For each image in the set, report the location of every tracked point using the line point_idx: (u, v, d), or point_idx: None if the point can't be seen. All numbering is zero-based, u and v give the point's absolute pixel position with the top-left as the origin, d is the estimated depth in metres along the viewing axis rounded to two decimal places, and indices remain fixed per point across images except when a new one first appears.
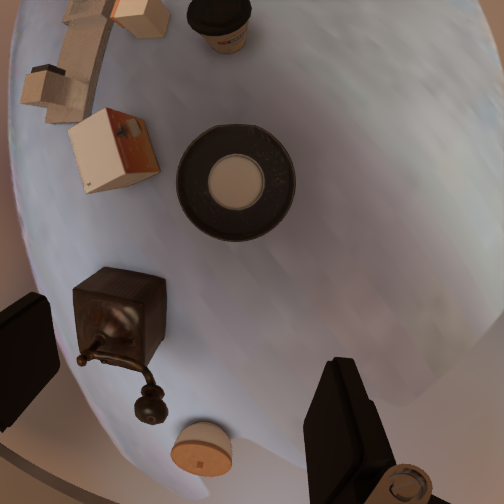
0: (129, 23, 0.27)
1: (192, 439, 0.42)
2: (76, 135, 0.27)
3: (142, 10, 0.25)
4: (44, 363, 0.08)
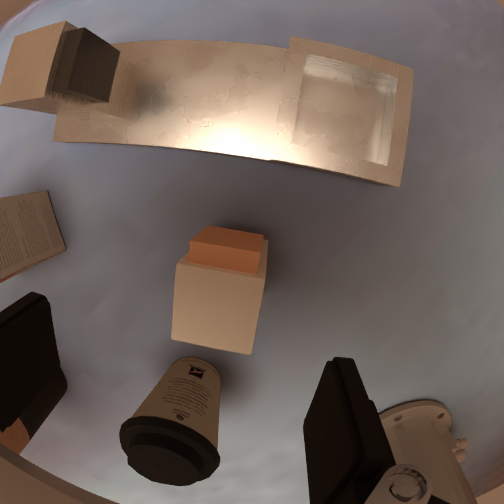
0: None
1: None
2: None
3: (183, 337, 0.14)
4: (44, 363, 0.08)
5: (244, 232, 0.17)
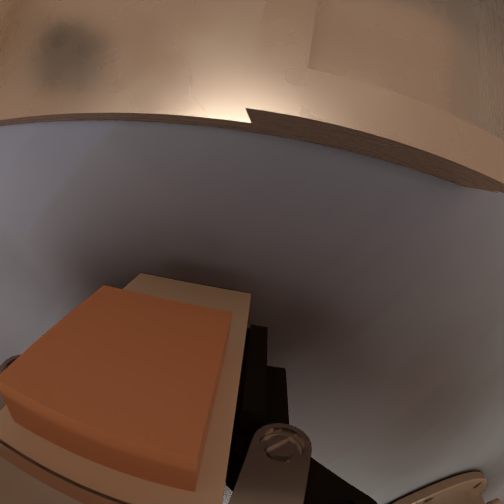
0: None
1: None
2: None
3: None
4: None
5: (183, 307, 0.07)
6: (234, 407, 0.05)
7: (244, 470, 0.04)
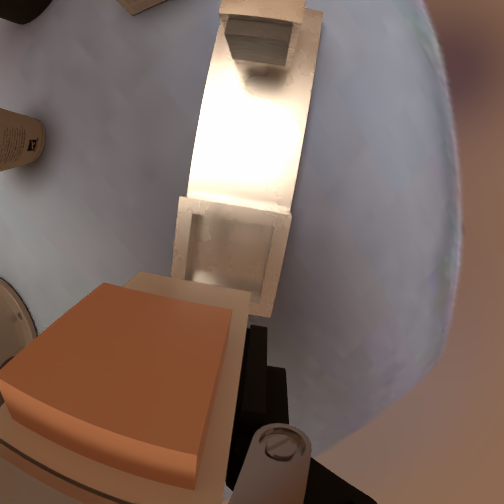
0: None
1: None
2: None
3: None
4: None
5: (183, 305, 0.07)
6: (234, 405, 0.05)
7: (244, 470, 0.04)
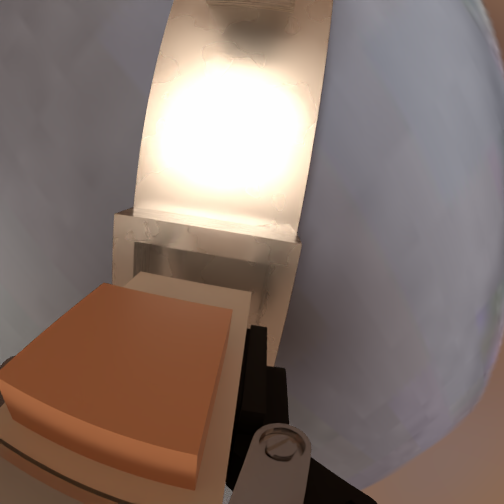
0: None
1: None
2: None
3: None
4: None
5: (183, 305, 0.07)
6: (234, 405, 0.05)
7: (244, 470, 0.04)
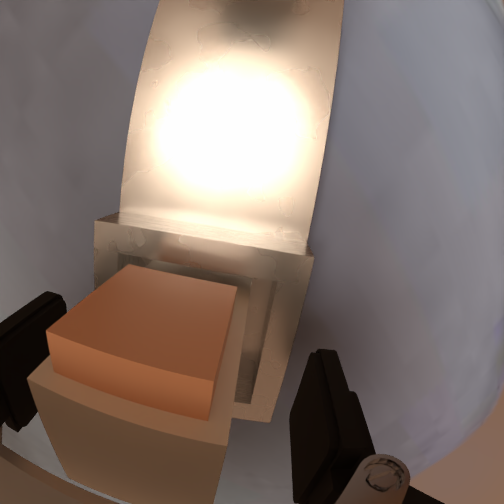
0: None
1: None
2: None
3: (85, 483, 0.05)
4: None
5: (197, 282, 0.08)
6: (238, 361, 0.07)
7: None
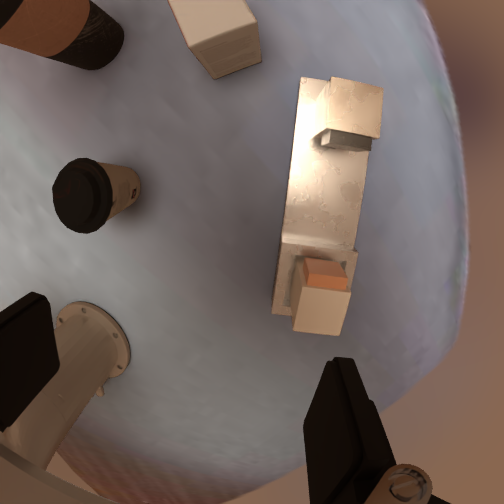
0: (297, 288, 0.26)
1: None
2: (236, 14, 0.17)
3: (300, 329, 0.24)
4: (44, 363, 0.08)
5: (327, 261, 0.27)
6: None
7: None
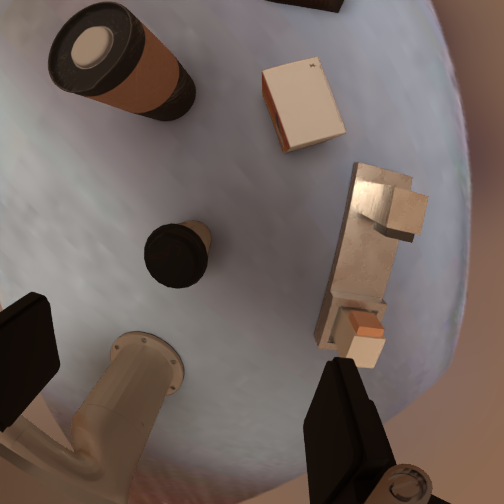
0: (346, 334, 0.33)
1: None
2: (331, 122, 0.25)
3: None
4: (44, 363, 0.08)
5: (367, 313, 0.34)
6: None
7: None
